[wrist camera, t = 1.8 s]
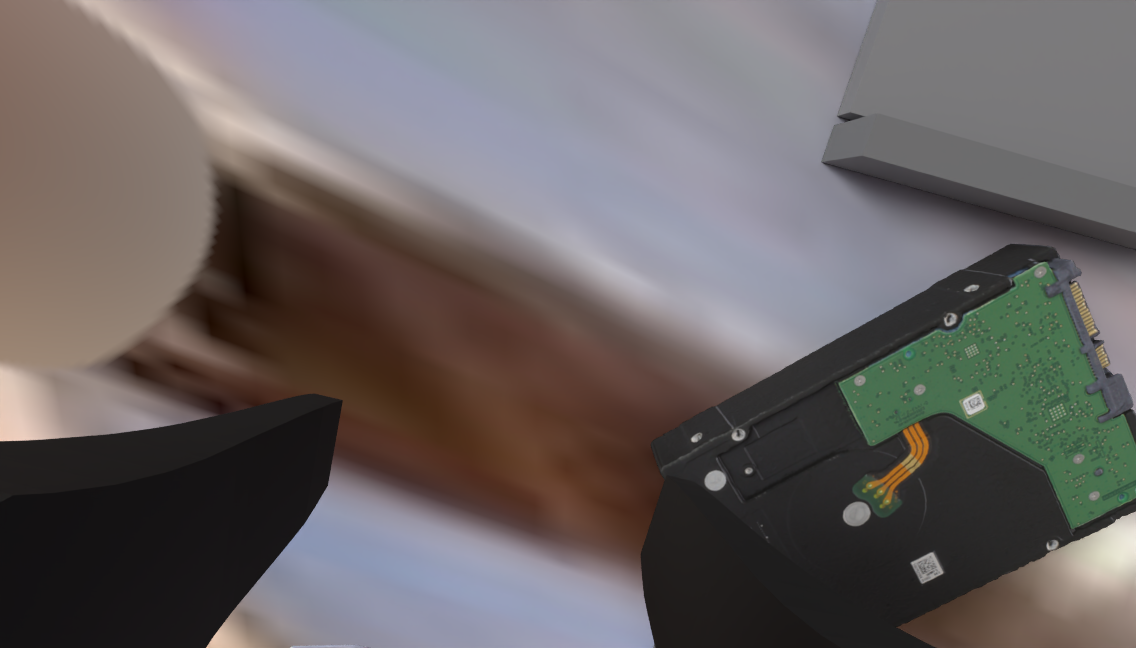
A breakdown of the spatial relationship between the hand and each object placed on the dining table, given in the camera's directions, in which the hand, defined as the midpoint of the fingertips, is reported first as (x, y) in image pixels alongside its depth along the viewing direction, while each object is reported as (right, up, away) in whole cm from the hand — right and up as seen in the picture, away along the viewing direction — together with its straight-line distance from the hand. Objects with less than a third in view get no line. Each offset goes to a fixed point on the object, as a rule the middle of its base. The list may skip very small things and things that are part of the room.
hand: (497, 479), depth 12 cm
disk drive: (+13, -1, +10) cm, 17 cm away
